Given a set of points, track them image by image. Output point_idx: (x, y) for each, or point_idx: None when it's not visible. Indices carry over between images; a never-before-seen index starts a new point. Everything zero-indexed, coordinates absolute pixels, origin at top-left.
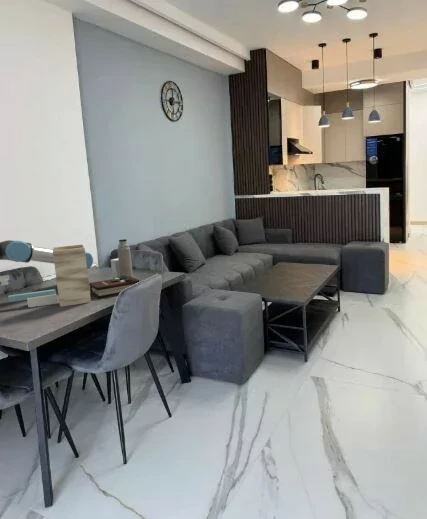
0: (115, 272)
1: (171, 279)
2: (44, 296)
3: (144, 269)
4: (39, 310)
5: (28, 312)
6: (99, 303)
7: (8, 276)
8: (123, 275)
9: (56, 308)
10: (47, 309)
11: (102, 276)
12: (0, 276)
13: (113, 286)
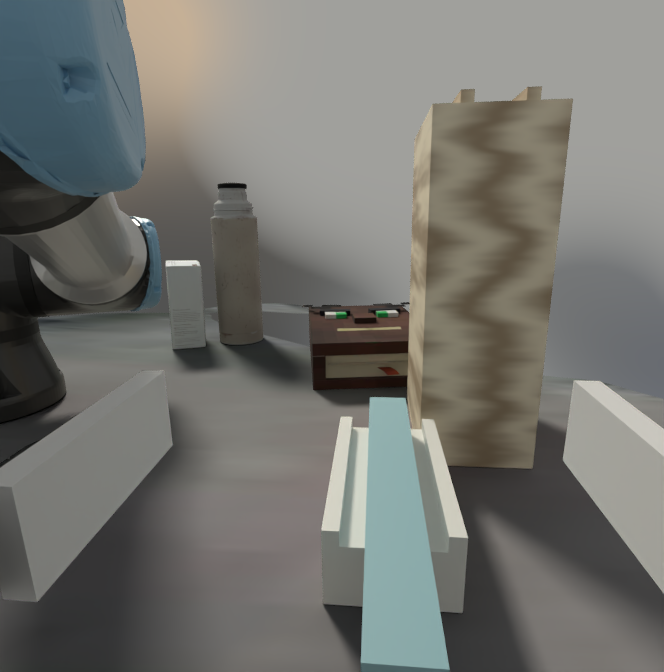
0: (196, 312)
1: None
2: (443, 457)
3: (109, 316)
4: (599, 552)
5: (658, 621)
6: None
7: (164, 393)
8: (253, 313)
9: (568, 482)
10: (581, 515)
11: None
12: (83, 434)
13: None
